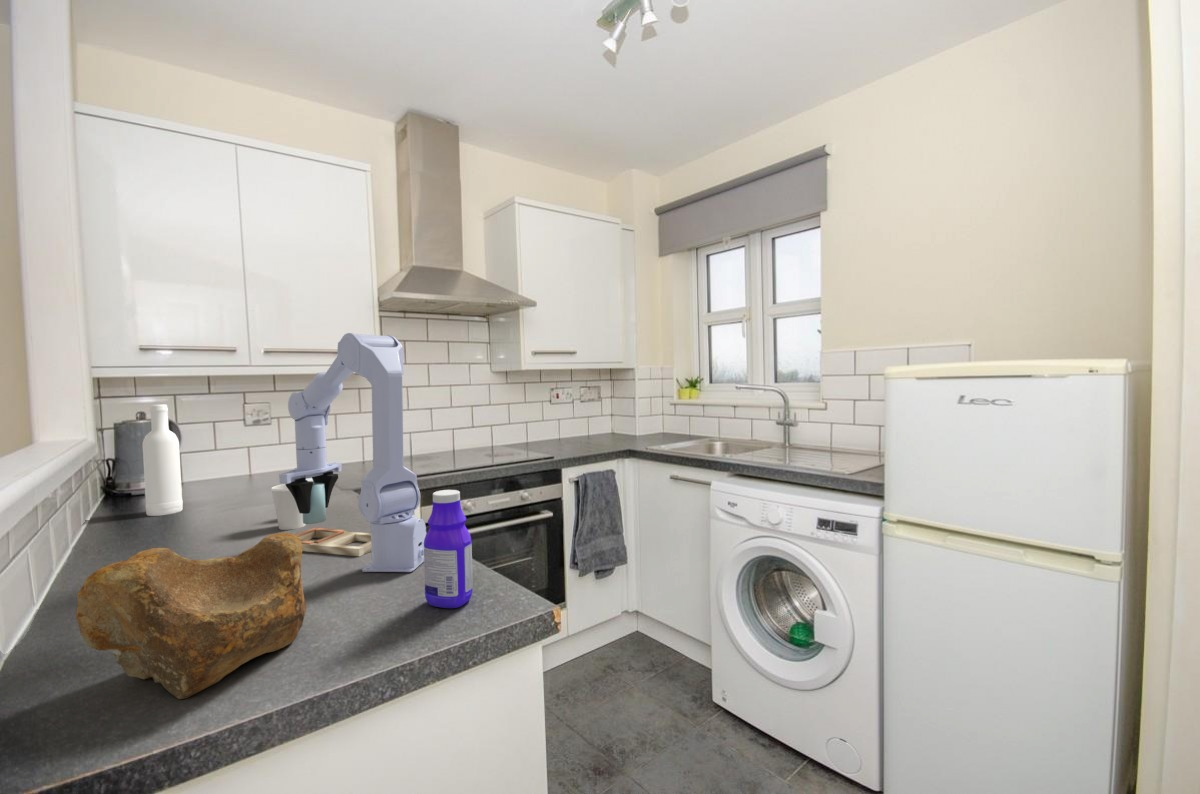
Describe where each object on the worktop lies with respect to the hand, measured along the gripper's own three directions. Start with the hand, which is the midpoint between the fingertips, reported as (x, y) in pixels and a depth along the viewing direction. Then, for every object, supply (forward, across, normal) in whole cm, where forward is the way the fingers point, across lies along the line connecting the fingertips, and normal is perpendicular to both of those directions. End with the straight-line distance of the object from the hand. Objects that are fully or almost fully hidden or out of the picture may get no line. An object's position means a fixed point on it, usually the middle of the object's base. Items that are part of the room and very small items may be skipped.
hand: (314, 510), depth 114 cm
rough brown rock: (+8, +43, +28) cm, 52 cm away
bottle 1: (+8, -12, -66) cm, 67 cm away
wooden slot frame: (+7, 0, +6) cm, 9 cm away
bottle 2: (+7, +19, +46) cm, 51 cm away
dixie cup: (+8, -9, -17) cm, 21 cm away
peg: (+2, 0, 0) cm, 2 cm away
